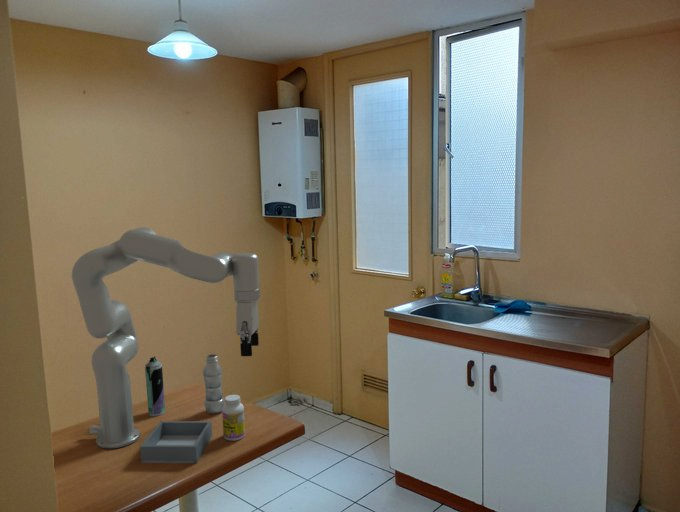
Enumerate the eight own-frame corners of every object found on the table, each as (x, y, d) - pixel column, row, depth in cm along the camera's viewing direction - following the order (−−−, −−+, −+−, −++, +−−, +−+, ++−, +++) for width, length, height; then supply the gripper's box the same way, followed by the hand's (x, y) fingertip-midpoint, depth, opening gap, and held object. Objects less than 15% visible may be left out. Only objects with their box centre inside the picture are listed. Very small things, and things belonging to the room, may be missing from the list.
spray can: (162, 416, 188) (158, 359, 185) (146, 416, 188) (141, 360, 185) (167, 409, 193) (163, 354, 190) (151, 409, 193) (147, 354, 190)
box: (141, 462, 157) (140, 446, 157) (161, 436, 173) (160, 421, 173) (196, 463, 157) (195, 446, 156) (212, 436, 173) (211, 421, 172)
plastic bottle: (220, 416, 187) (217, 359, 184) (201, 415, 188) (198, 358, 185) (227, 408, 193) (225, 353, 190) (209, 407, 194) (206, 352, 191)
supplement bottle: (219, 438, 171) (216, 399, 169) (233, 429, 177) (231, 391, 175) (235, 443, 168) (233, 403, 166) (249, 434, 173) (247, 395, 171)
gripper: (241, 289, 172) (244, 342, 175) (227, 302, 155) (230, 360, 158) (265, 288, 172) (267, 341, 175) (253, 301, 155) (256, 360, 158)
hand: (250, 350), depth 166 cm, fingers open, 9 cm apart
